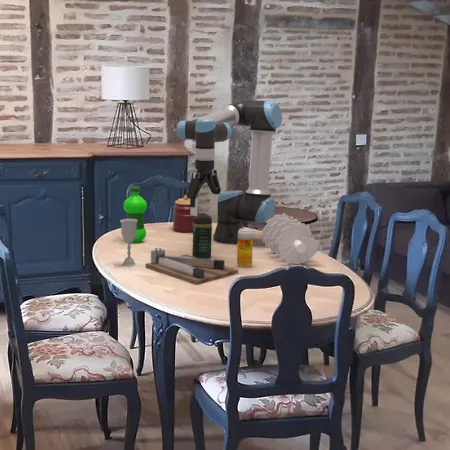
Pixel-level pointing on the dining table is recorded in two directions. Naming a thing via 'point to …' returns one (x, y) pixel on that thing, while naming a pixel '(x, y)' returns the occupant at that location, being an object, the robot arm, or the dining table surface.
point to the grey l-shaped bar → (174, 264)
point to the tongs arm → (198, 261)
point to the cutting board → (209, 275)
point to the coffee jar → (202, 235)
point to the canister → (183, 216)
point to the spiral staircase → (289, 239)
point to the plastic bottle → (136, 212)
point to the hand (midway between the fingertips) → (203, 212)
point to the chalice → (128, 237)
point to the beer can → (244, 247)
